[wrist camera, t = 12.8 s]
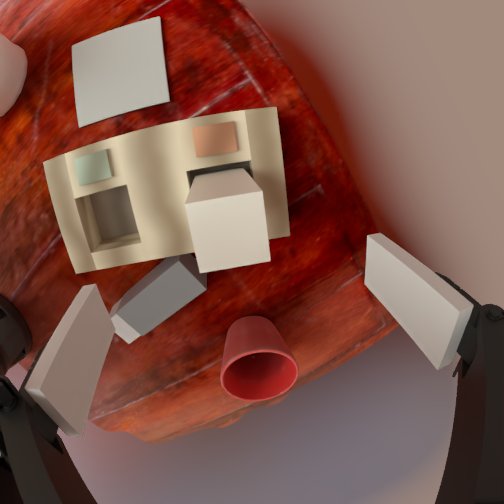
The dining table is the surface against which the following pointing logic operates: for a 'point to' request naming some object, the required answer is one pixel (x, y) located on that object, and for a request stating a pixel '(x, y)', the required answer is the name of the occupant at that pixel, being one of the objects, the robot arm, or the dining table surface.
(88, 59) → the mat
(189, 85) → the dining table surface
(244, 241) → the plug
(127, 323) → the plug
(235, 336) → the flower pot
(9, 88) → the vase
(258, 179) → the socket box
